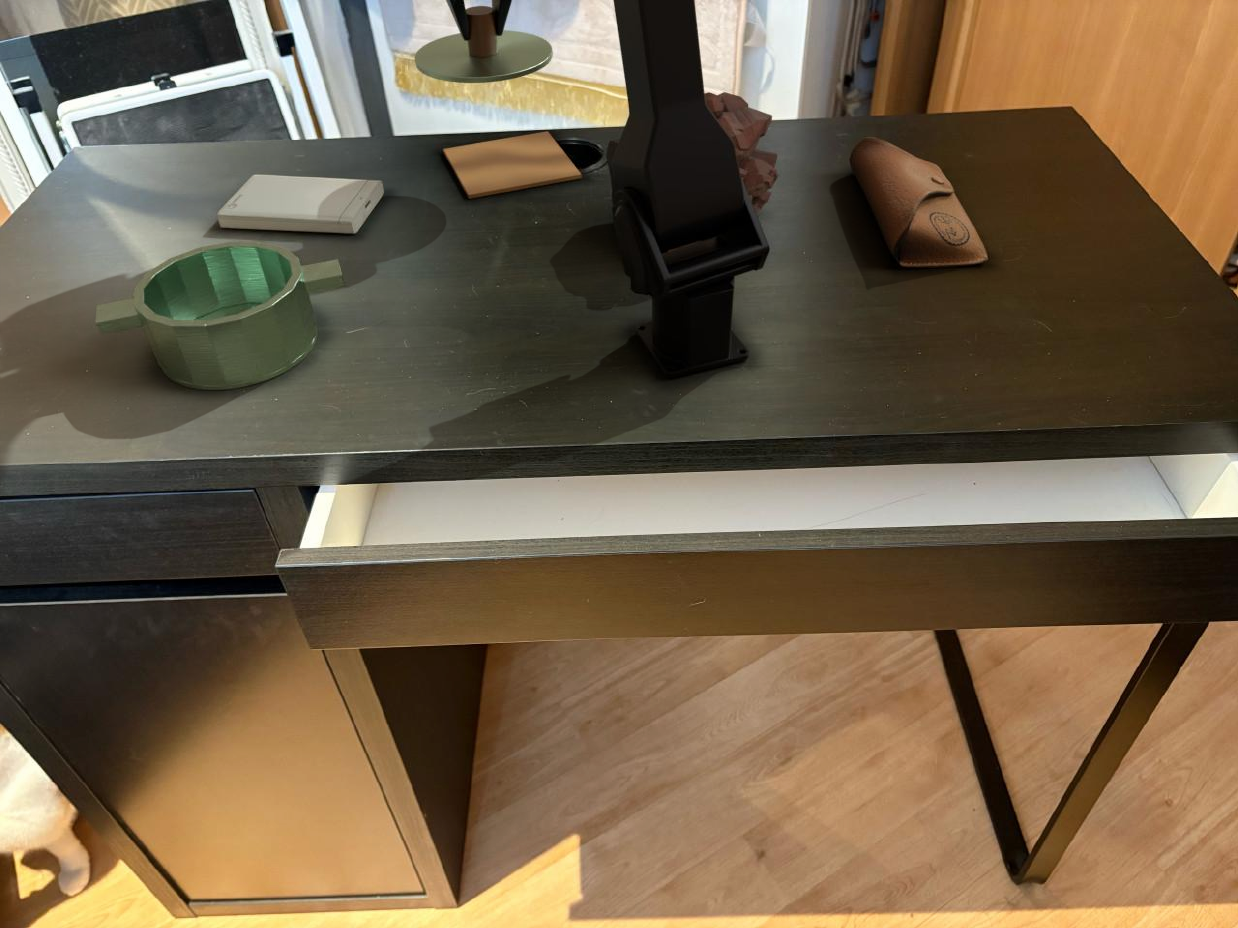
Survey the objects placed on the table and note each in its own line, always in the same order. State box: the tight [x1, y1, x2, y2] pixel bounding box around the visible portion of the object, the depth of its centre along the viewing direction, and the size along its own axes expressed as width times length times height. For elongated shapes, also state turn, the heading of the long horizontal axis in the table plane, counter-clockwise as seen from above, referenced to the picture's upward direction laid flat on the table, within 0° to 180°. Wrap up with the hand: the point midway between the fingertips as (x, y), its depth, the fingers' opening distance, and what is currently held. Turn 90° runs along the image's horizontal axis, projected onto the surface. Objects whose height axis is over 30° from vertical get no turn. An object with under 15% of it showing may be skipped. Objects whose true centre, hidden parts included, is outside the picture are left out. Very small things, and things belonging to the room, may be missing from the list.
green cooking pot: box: [94, 241, 346, 391], centre depth 70 cm, size 11×17×5 cm
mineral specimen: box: [668, 91, 780, 252], centre depth 80 cm, size 12×13×15 cm
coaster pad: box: [442, 130, 583, 200], centre depth 94 cm, size 11×11×1 cm
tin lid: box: [414, 5, 554, 84], centre depth 84 cm, size 12×12×5 cm
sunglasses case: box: [849, 136, 989, 269], centre depth 83 cm, size 18×7×7 cm, turn 2°
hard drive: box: [216, 174, 385, 235], centre depth 87 cm, size 2×8×12 cm
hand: (482, 37), depth 84 cm, fingers closed on tin lid, 3 cm apart
